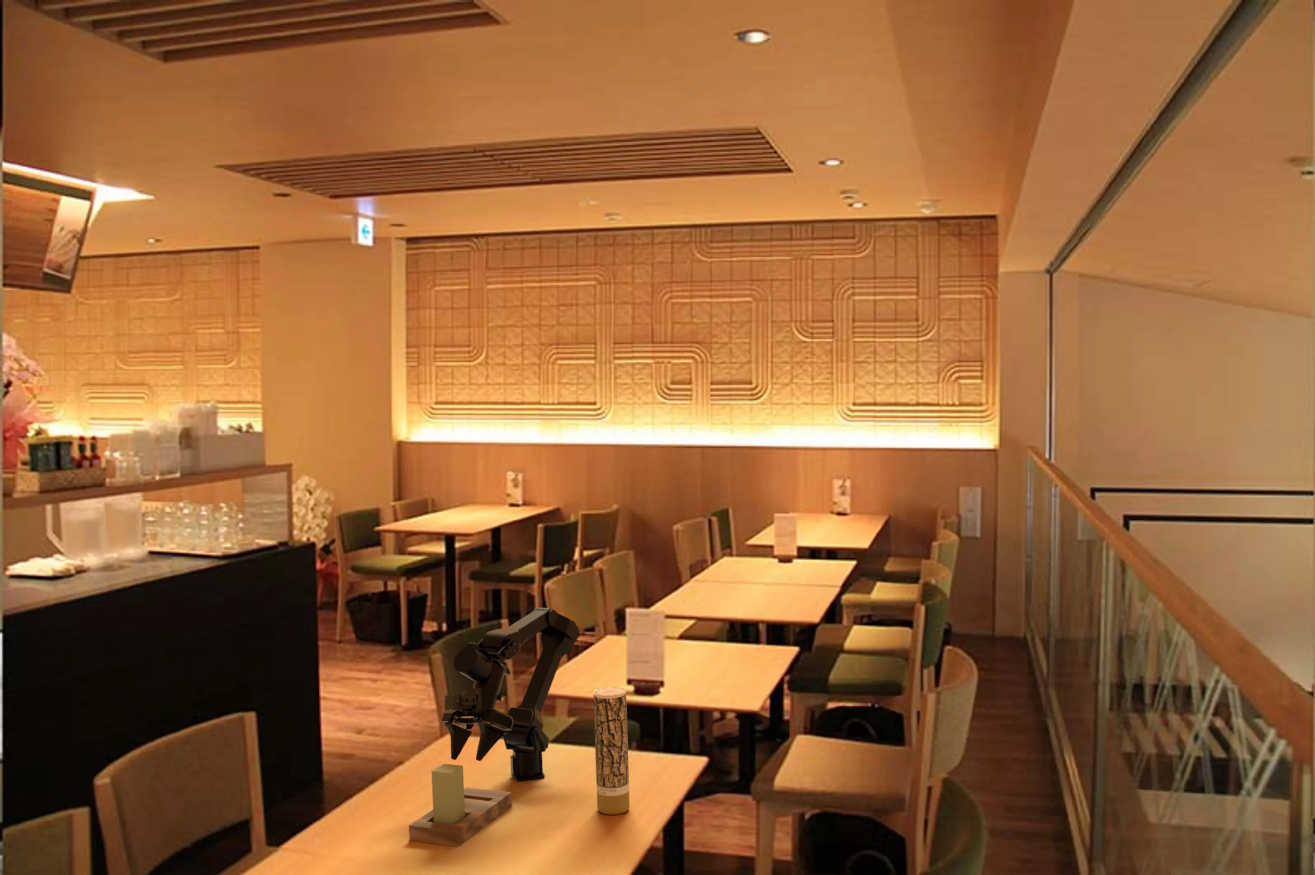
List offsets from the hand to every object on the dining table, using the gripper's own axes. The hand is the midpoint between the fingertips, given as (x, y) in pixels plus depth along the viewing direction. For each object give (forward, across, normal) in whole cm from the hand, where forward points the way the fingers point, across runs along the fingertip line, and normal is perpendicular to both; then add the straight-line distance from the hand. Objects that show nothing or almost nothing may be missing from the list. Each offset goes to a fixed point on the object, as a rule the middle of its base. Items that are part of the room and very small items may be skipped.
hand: (465, 760), depth 235 cm
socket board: (+12, +3, +2) cm, 13 cm away
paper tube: (+3, +21, +25) cm, 33 cm away
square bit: (+15, +5, -2) cm, 16 cm away
